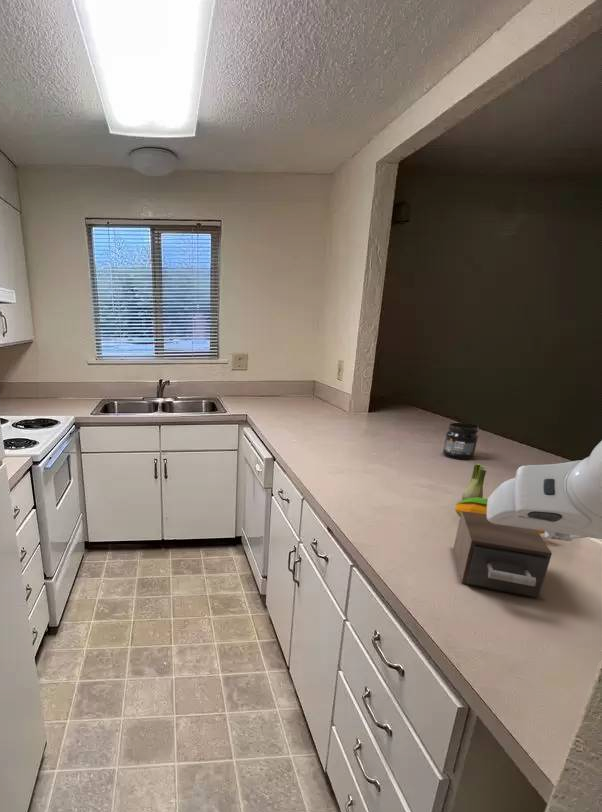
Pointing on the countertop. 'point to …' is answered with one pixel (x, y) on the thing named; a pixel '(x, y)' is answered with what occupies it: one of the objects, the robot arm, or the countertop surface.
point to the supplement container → (460, 441)
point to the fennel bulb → (475, 483)
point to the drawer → (506, 570)
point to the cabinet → (494, 542)
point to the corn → (475, 507)
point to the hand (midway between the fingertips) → (556, 534)
